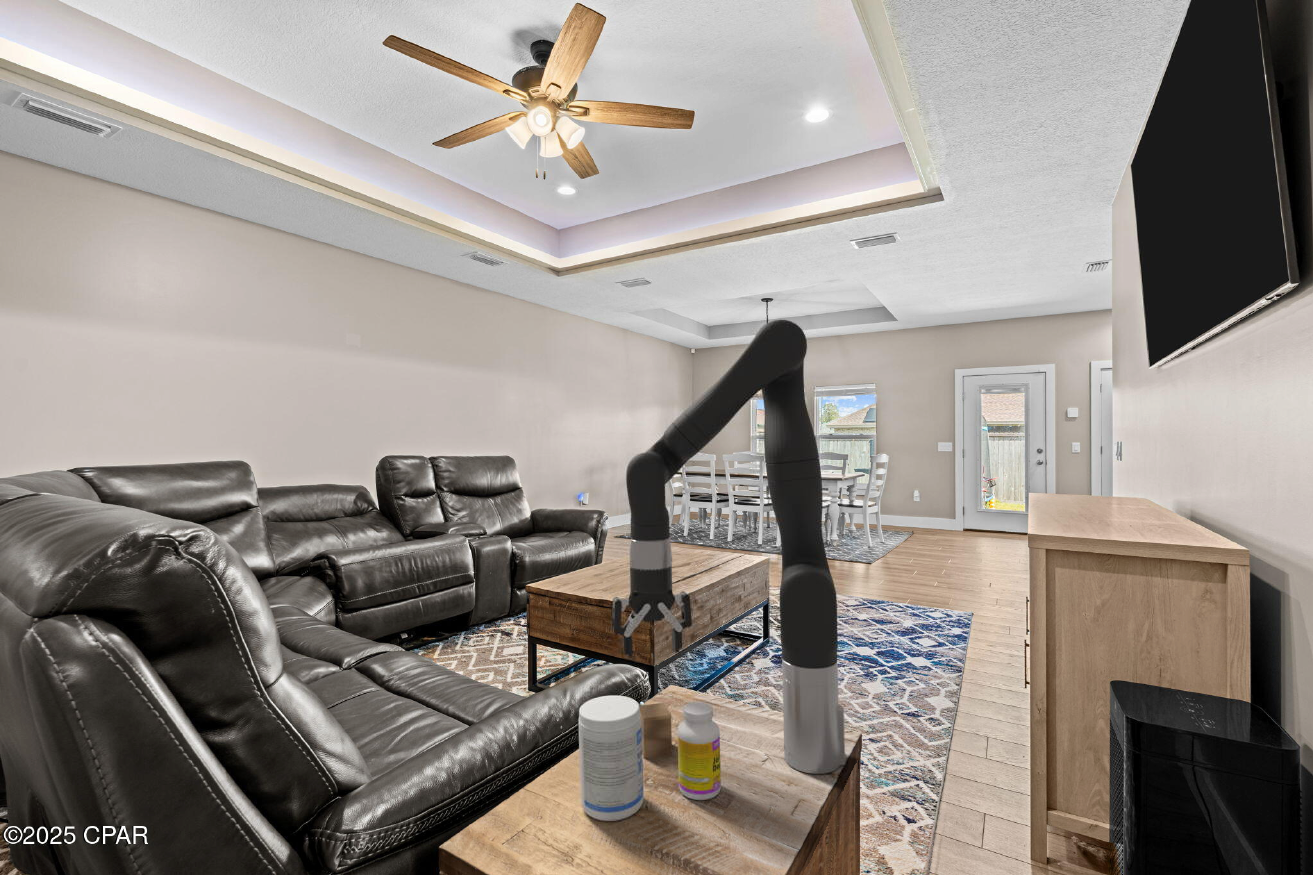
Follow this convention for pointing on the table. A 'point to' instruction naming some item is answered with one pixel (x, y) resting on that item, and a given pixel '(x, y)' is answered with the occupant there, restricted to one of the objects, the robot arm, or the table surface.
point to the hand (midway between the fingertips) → (652, 653)
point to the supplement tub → (610, 757)
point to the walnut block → (656, 730)
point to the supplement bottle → (699, 752)
